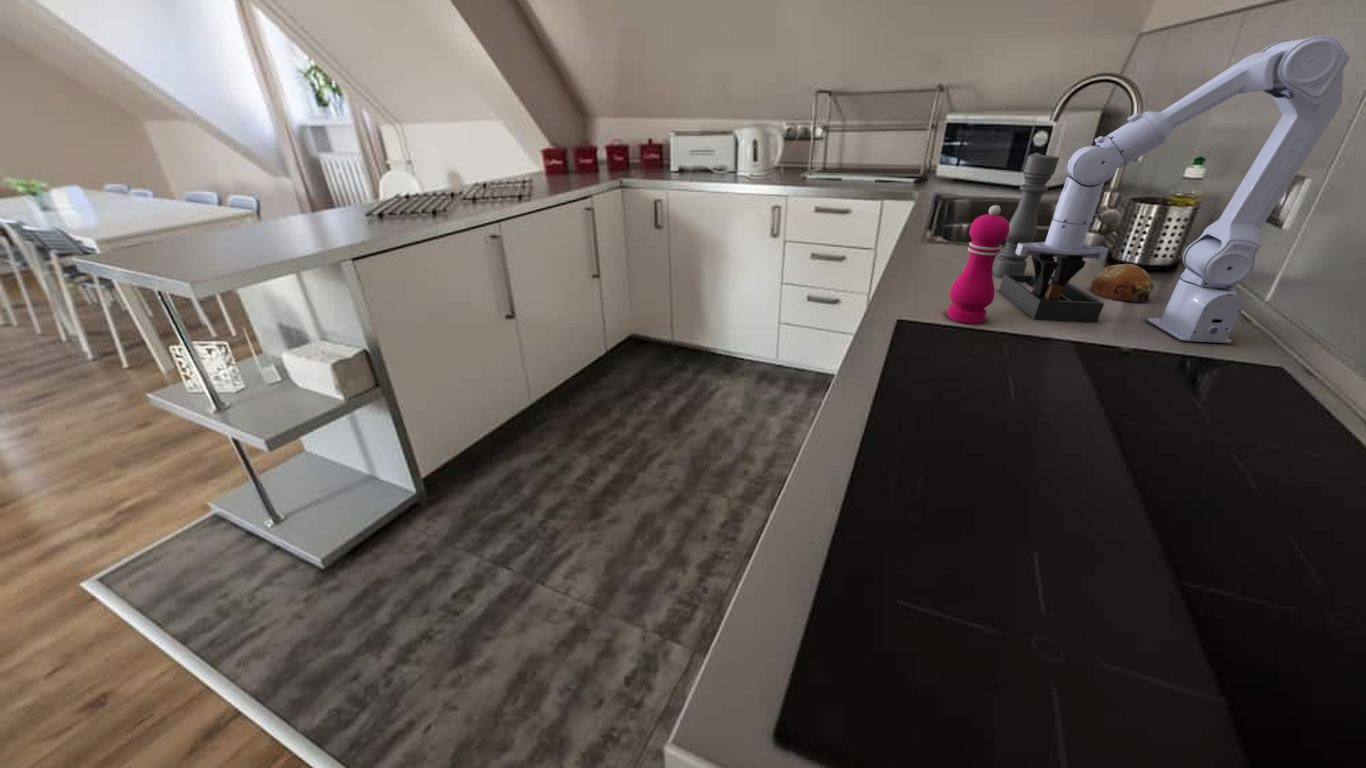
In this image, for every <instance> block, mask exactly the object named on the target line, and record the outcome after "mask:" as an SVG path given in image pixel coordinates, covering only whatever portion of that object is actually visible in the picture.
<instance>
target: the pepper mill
mask: <svg viewBox="0 0 1366 768" xmlns="http://www.w3.org/2000/svg"><path fill="white" fill-rule="evenodd" d="M1001 212H1002V209H1001V207H1000V205H998V204H994V205H991V206H990V207H989V208H988V214H987V213H986V214H982V215H980V216H978V217H976V218H975V219H974V220H973V222H972V223H971V225H970V228H969V232H968V233H969V237H970V238H971V241H970V242H969V243H968V245H969V246H968V247H967V251H968V252H969V254H968V259H967V262H966V264H965V266H964V268H963V270H962V272H961V273H959V275H958V277H957V278H956V279H955V280H954V281H953V283H952V285H951V288H950V290H949V299H950V300H951V302H952V303H951V304H949V306H948V309H947V312H946V316H947V317H948V318H949V319H951V320H953V321H955V322H958V323H961V324H969V325H975V324H977V325H978V324H982V323H983V322H984V321H985V318H986V315H987V310H986V308H987V307H988V306H990V305H991V304H992V303H993V301H994V299H995V294H996V293H995V292H996V291H995V283H994V278H993V268H994V264H995V261H996V258H997V256H998V255H999V254H1000V251H1001V250H1002V245H1001V244H1002V243H1003V242H1004V241H1006V240H1005V239H1006V238H1007V237H1008V234H1009V230H1010V226H1009V221H1008V220H1007V219H1006V218H1005V217H1003V216H1001V215H1000V214H1001Z"/></svg>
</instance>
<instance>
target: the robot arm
mask: <svg viewBox="0 0 1366 768" xmlns="http://www.w3.org/2000/svg"><path fill="white" fill-rule="evenodd" d="M1343 46H1344V45H1342V44H1341V42H1340V41H1339V40H1338V39H1337V38H1335V37H1333V36H1330V35H1322V34H1321V35H1315V36H1311V37H1307V38H1301V39H1284V40H1279V41H1276V42H1273V43H1271V44H1269V45H1267V46H1266V47H1265V48H1263V49H1262V50H1260V51H1259V52H1254V53H1253V54H1251V55H1248V56H1246V57H1244V58H1243V59H1241V60H1240V61H1238V62H1236V63H1235V64H1234V65H1231V67H1229V68H1227V69H1225V70H1224V71H1223V72H1221V73H1219V74H1218V75H1216V76H1215V77H1213V78H1212V79H1210V80H1209V81H1207V82H1205V83H1204V84H1202V85H1201V86H1199V87H1198V88H1196V89H1194V90H1193V91H1191V92H1190V93H1188V94H1187V95H1185V96H1183V97H1181V98H1180V99H1179V100H1177V101H1176V102H1174V103H1172V104H1171V105H1170V106H1168V107H1167V108H1164V109H1163V110H1162V111H1150V110H1148V111H1145V112H1143V113H1141V114H1140V113H1134V114H1132V115H1130V116H1129V117H1128V118H1126V119H1127V121H1128V122H1127V123H1125V124H1123V125H1122V126H1120V127H1119V128H1117V129H1115V130H1113V131H1111V132H1110V133H1109V134H1107V135H1105V136H1103V135H1100V136H1098V137H1096V138H1094V142H1095V145H1087V146H1084V147H1081V148H1079V149H1077V150H1076V151H1075V152H1074V153H1073V154H1072V155H1071V157H1070V158H1069V159H1068V160H1067V161H1066V162H1065V166H1064V167H1065V174H1066V175H1067V177H1066V178H1065V182H1064V184H1063V188H1062V191H1060V195H1059V198H1058V201H1057V204H1056V207H1055V210H1054V213H1053V216H1052V219H1051V223H1050V225H1049V228H1048V232H1047V235H1046V237H1045V238H1046V239H1045V240H1044V241H1042V242H1041V241H1040V242H1031V243H1018V246H1017V249H1016V252H1015V254H1017V255H1019V256H1028V257H1031V261H1032V265H1033V271H1034V275H1035V291H1034V293H1035V294H1036V295H1038V296H1039V297H1043V295H1044V293H1045V291H1046V289H1047V286H1048V283H1049V280H1050V278H1051V276H1054V277H1053V281H1055V282H1056V283H1058V284H1059V285H1061V286H1063V287H1065V285H1066V284H1067V283H1068V282H1070V280H1071V279H1072V278H1074V276H1075V275H1076V274H1077V273H1079V272H1080V271H1081V270H1082V269H1083V268H1084V267H1085V265H1086V264H1087V262H1086V261H1085V260H1083V259H1096V260H1101V261H1104V260H1105V259H1106V257H1107V254H1108V252H1109V249H1108V248H1107V247H1104V246H1101V245H1088V244H1084V243H1085V240H1086V237H1087V235H1088V232H1089V229H1090V226H1091V224H1092V222H1093V221H1092V220H1093V218H1094V215H1095V213H1096V210H1097V207H1098V204H1099V202H1100V198H1101V194H1102V191H1103V188H1104V186H1105V183H1106V182H1108V181H1109V180H1110V179H1111V178H1113V176H1114V175H1115V173H1116V172H1117V170H1118V169H1119V168H1120V169H1121V168H1123V167H1125V166H1126V165H1128V164H1130V163H1131V162H1134V161H1135V160H1138V159H1139V158H1140V157H1142V156H1145V155H1146V154H1147V153H1149V152H1151V151H1153V150H1154V149H1156V148H1158V147H1160V146H1162V145H1164V144H1165V143H1167V141H1168V139H1169V137H1170V135H1171V133H1172V131H1173V130H1174V129H1176V128H1178V127H1180V126H1182V125H1183V124H1185V123H1186V122H1189V121H1191V120H1192V119H1194V118H1196V117H1198V116H1199V115H1202V114H1203V113H1205V112H1207V111H1209V110H1211V109H1213V108H1214V107H1217V106H1219V105H1221V104H1223V103H1224V102H1227V100H1229V99H1231V98H1233V97H1235V96H1238V95H1241V94H1246V93H1247V94H1249V93H1254V92H1262V91H1263V92H1264V93H1266V94H1267V95H1269V96H1270V97H1272V99H1273V100H1274V102H1275V104H1276V106H1277V107H1278V109H1279V111H1280V113H1281V117H1280V119H1279V121H1278V122H1277V123H1276V125H1275V126H1274V128H1273V130H1272V132H1271V133H1270V135H1269V136H1268V138H1267V140H1266V141H1265V143H1264V145H1263V147H1262V148H1261V150H1260V152H1259V153H1258V154H1257V156H1256V158H1255V159H1254V161H1253V163H1252V164H1251V166H1250V168H1249V170H1248V171H1247V173H1246V174H1245V176H1244V178H1243V179H1242V180H1241V182H1240V184H1239V186H1238V187H1237V189H1236V191H1235V192H1234V194H1233V196H1232V197H1231V199H1230V200H1229V202H1228V203H1227V205H1226V207H1225V208H1224V210H1223V212H1222V213H1221V215H1220V217H1219V218H1218V219H1217V220H1216V221H1214V222H1213V223H1211V224H1209V225H1208V226H1207V227H1205V229H1204V230H1203V232H1202V233H1201V235H1200V236H1199V237H1198V238H1197V239H1195V240H1194V241H1193V242H1191V243H1190V244H1189V245H1188V246H1187V247H1186V248H1185V250H1184V252H1183V254H1182V263H1183V265H1184V267H1185V268H1184V271H1182V273H1181V274H1180V277H1179V279H1178V281H1177V283H1176V285H1175V288H1174V290H1173V292H1172V294H1171V296H1170V299H1169V301H1168V303H1167V305H1166V307H1165V309H1164V310H1163V311H1164V312H1163V314H1162V316H1161V318H1158V317H1157V318H1155V317H1148V318H1147V320H1146V321H1147V322H1148V323H1150V324H1152V325H1154V326H1156V327H1157V328H1158V329H1161V330H1162V331H1164V332H1166V333H1167V334H1168V335H1171V336H1173V337H1174V338H1175V339H1177V340H1180V341H1182V342H1196V343H1197V342H1199V343H1216V344H1217V343H1218V344H1231V343H1232V340H1231V339H1230V338H1229V336H1230V335H1231V332H1232V331H1233V329H1234V327H1235V324H1236V323H1237V321H1238V319H1239V317H1240V315H1241V313H1242V312H1243V310H1244V300H1243V298H1242V297H1241V296H1240V295H1239V294H1237V292H1236V286H1237V285H1238V284H1240V283H1242V282H1243V281H1245V280H1246V279H1248V278H1249V277H1250V275H1251V274H1252V273H1253V271H1254V269H1255V265H1256V256H1257V254H1258V251H1259V250H1260V249H1261V247H1262V232H1261V229H1262V228H1263V226H1264V225H1265V223H1266V221H1267V220H1268V218H1269V217H1270V215H1271V214H1272V212H1273V210H1274V209H1275V208H1276V206H1277V204H1278V203H1279V202H1280V200H1281V198H1282V197H1283V196H1284V194H1285V192H1286V191H1287V189H1288V188H1289V186H1290V185H1291V183H1292V182H1293V180H1294V178H1295V177H1296V175H1297V174H1298V172H1299V171H1300V169H1301V168H1302V166H1303V165H1304V163H1305V162H1306V160H1307V159H1308V157H1309V156H1310V155H1311V153H1312V151H1313V149H1314V148H1315V146H1316V145H1317V143H1318V142H1319V140H1320V139H1321V137H1322V136H1323V134H1324V133H1325V131H1326V130H1327V128H1328V127H1329V125H1330V123H1331V122H1332V120H1333V119H1334V118H1335V116H1336V114H1337V113H1338V112H1339V110H1340V108H1341V106H1342V104H1343V89H1344V88H1343V86H1344V69H1345V67H1346V66H1347V64H1348V62H1349V61H1350V59H1351V56H1350V55H1349V54H1348V52H1347V51H1346V49H1345V47H1343ZM1055 258H1056V261H1055Z"/></svg>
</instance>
